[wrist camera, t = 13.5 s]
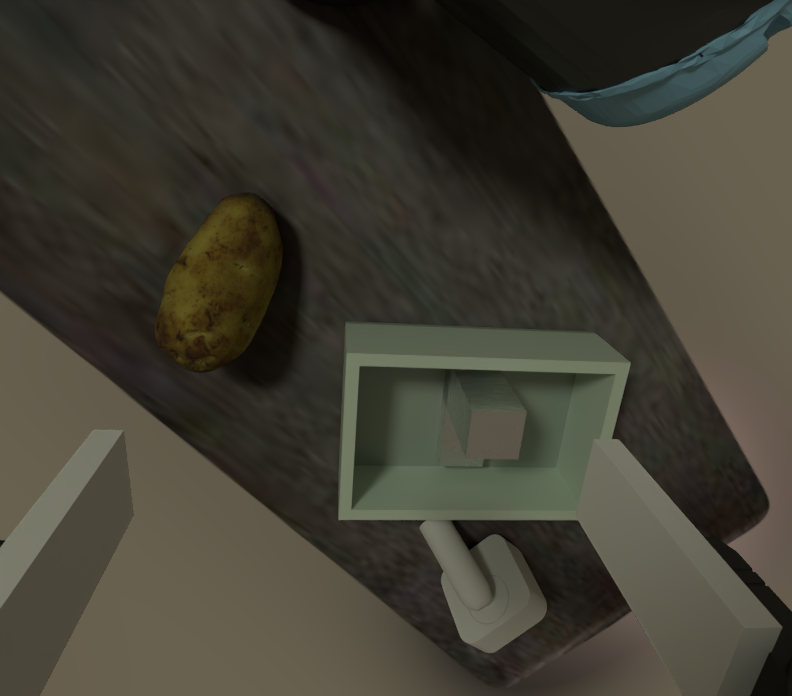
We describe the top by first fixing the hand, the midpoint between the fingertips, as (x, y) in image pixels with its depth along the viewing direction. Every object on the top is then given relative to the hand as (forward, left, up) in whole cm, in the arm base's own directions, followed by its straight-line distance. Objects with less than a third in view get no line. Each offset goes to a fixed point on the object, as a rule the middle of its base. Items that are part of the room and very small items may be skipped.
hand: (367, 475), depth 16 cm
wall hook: (+30, +13, -32) cm, 46 cm away
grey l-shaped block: (+14, +11, -31) cm, 36 cm away
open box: (+14, +11, -32) cm, 36 cm away
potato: (+3, -9, -32) cm, 33 cm away
